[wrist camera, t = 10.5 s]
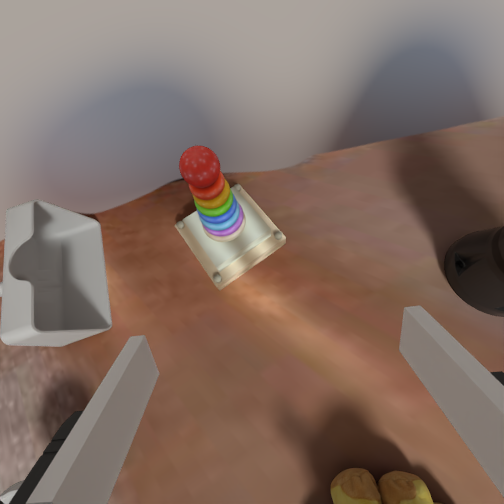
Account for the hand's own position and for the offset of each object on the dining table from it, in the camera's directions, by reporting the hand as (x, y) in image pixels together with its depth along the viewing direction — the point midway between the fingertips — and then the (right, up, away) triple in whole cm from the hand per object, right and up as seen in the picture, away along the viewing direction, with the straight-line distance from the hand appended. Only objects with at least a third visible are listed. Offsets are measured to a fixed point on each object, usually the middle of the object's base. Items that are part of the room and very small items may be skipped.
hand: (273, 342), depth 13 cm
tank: (-39, -2, +40) cm, 56 cm away
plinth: (-6, +8, +40) cm, 41 cm away
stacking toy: (-6, +10, +34) cm, 36 cm away
